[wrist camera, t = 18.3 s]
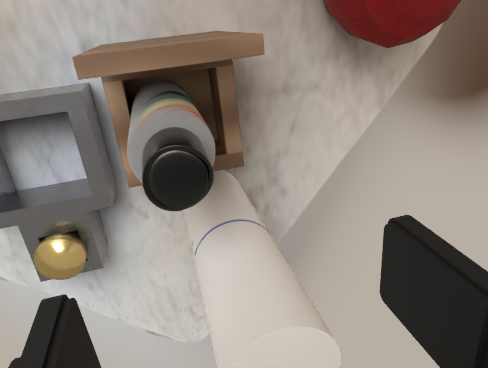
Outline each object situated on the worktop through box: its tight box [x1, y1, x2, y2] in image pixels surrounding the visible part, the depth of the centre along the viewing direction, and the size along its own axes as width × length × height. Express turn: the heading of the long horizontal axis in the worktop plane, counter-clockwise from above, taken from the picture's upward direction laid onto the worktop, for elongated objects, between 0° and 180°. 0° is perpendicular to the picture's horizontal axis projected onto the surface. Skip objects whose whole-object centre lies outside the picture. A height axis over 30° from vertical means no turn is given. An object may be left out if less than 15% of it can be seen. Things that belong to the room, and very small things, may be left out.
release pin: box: [34, 230, 87, 280], centre depth 37 cm, size 4×4×6 cm
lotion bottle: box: [127, 80, 215, 211], centre depth 29 cm, size 6×6×20 cm
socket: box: [0, 83, 116, 282], centre depth 36 cm, size 18×11×5 cm, turn 6°
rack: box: [73, 31, 265, 188], centre depth 31 cm, size 12×11×16 cm
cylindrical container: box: [183, 170, 341, 368], centre depth 32 cm, size 7×7×25 cm
